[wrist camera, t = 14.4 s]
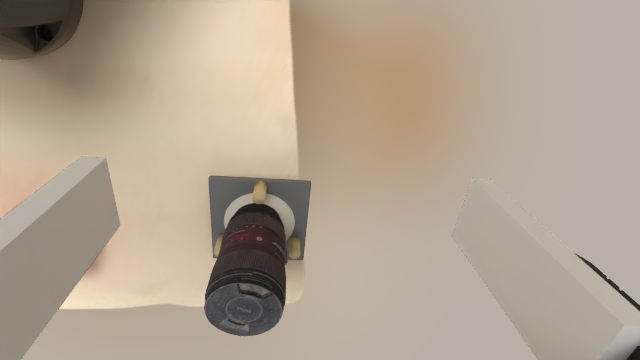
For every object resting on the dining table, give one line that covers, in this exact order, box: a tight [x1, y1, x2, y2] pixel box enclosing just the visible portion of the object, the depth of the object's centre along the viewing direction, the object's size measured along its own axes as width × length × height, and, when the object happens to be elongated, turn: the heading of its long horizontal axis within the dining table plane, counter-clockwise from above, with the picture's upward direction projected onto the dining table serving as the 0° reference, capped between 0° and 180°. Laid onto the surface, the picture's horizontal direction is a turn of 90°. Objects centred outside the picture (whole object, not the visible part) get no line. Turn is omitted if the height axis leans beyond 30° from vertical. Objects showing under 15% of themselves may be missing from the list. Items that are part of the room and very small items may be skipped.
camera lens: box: [204, 203, 287, 336], centre depth 40 cm, size 8×8×15 cm
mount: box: [209, 176, 311, 260], centre depth 45 cm, size 13×13×4 cm
